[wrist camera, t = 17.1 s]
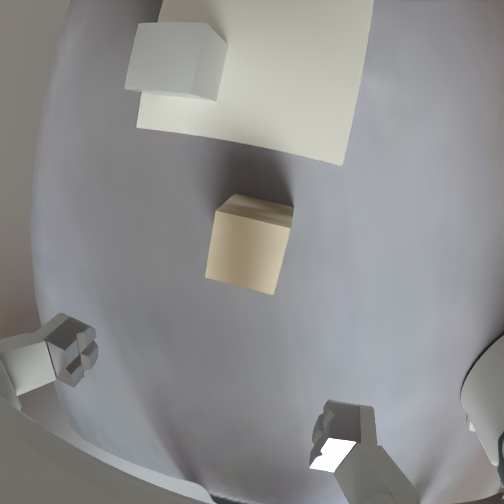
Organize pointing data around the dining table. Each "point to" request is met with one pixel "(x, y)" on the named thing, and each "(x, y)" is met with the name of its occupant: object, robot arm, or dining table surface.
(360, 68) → the cream flat sheet
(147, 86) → the grey block
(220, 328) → the dining table surface
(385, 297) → the dining table surface
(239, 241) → the birch block
